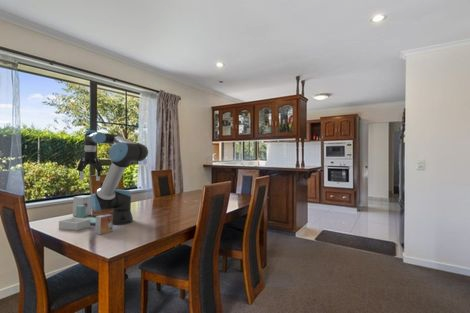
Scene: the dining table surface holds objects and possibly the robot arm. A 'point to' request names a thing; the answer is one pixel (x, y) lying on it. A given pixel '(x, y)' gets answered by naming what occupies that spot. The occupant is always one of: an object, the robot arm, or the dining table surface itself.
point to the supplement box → (82, 201)
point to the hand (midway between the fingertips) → (89, 180)
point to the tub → (74, 224)
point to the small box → (104, 224)
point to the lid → (84, 213)
